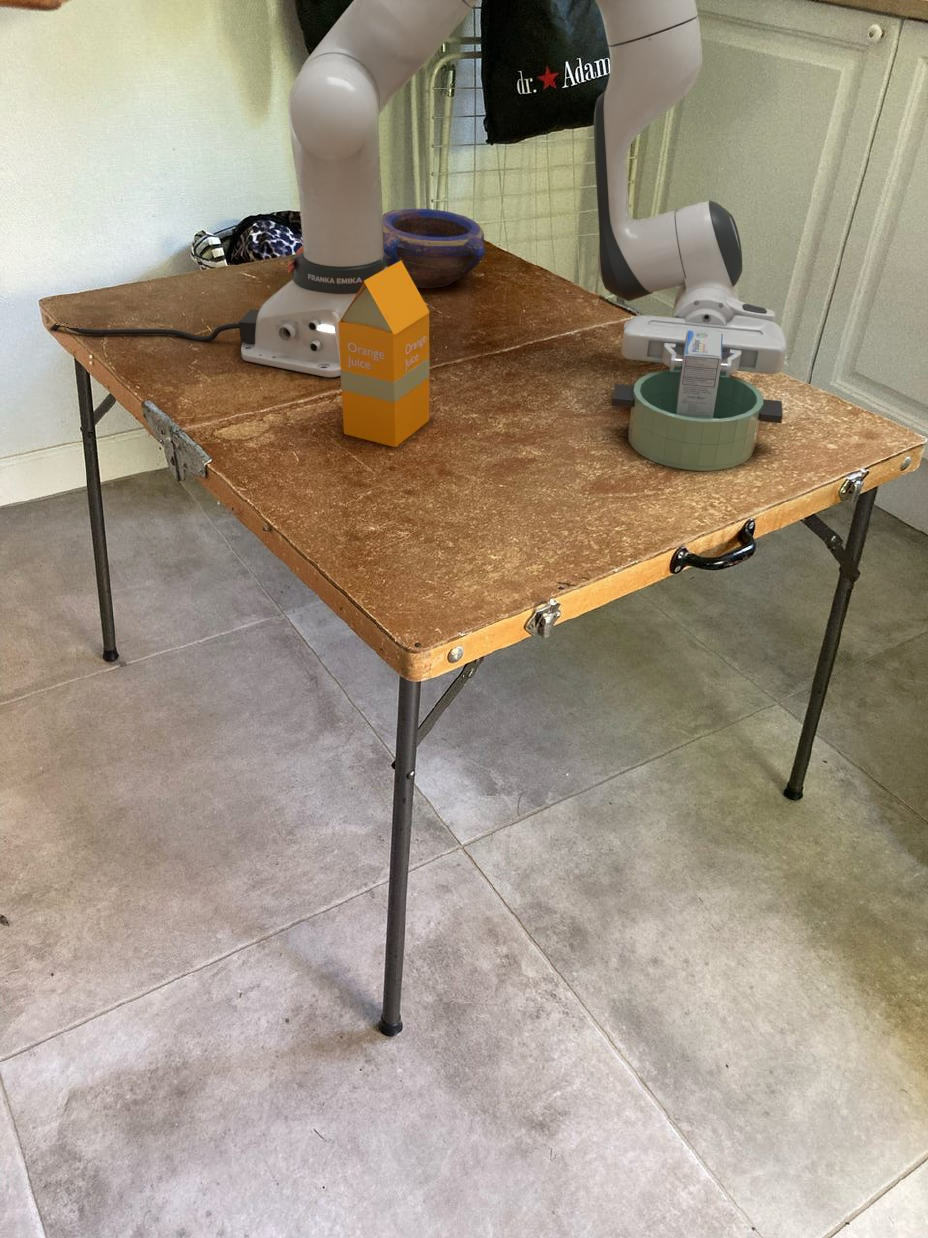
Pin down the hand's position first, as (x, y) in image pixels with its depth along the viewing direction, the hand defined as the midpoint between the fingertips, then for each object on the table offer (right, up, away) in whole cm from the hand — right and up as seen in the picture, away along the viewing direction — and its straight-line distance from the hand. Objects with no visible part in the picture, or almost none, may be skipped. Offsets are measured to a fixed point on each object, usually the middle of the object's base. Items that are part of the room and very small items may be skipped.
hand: (700, 369), depth 129 cm
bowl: (-34, +27, +52) cm, 68 cm away
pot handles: (0, -4, +2) cm, 5 cm away
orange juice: (-38, -6, +7) cm, 40 cm away
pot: (0, -8, +5) cm, 9 cm away
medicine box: (0, -5, +3) cm, 5 cm away
